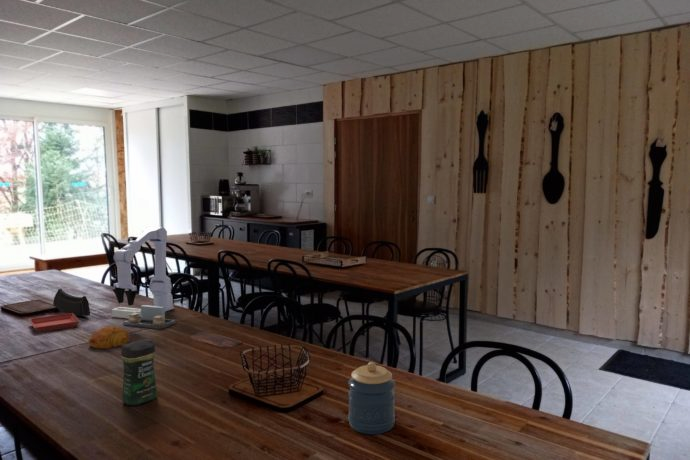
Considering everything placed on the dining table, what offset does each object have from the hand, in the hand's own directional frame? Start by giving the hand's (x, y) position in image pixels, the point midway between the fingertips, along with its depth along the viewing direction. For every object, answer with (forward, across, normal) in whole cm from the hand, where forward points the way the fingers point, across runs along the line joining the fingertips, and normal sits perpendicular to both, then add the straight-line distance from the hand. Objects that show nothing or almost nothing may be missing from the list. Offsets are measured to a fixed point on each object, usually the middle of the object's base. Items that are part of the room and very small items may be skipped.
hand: (125, 304), depth 231 cm
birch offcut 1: (+8, +15, +6) cm, 18 cm away
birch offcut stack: (+10, +2, +3) cm, 11 cm away
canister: (+10, +143, -22) cm, 145 cm away
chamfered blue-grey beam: (+10, +7, +9) cm, 15 cm away
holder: (+10, -12, +9) cm, 18 cm away
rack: (+10, +8, +6) cm, 14 cm away
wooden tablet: (+11, +51, +6) cm, 53 cm away
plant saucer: (+11, -28, -18) cm, 35 cm away
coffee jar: (+10, +75, -46) cm, 89 cm away
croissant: (+10, +17, -20) cm, 28 cm away
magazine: (+10, -42, -3) cm, 44 cm away
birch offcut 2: (+10, +15, +6) cm, 19 cm away
